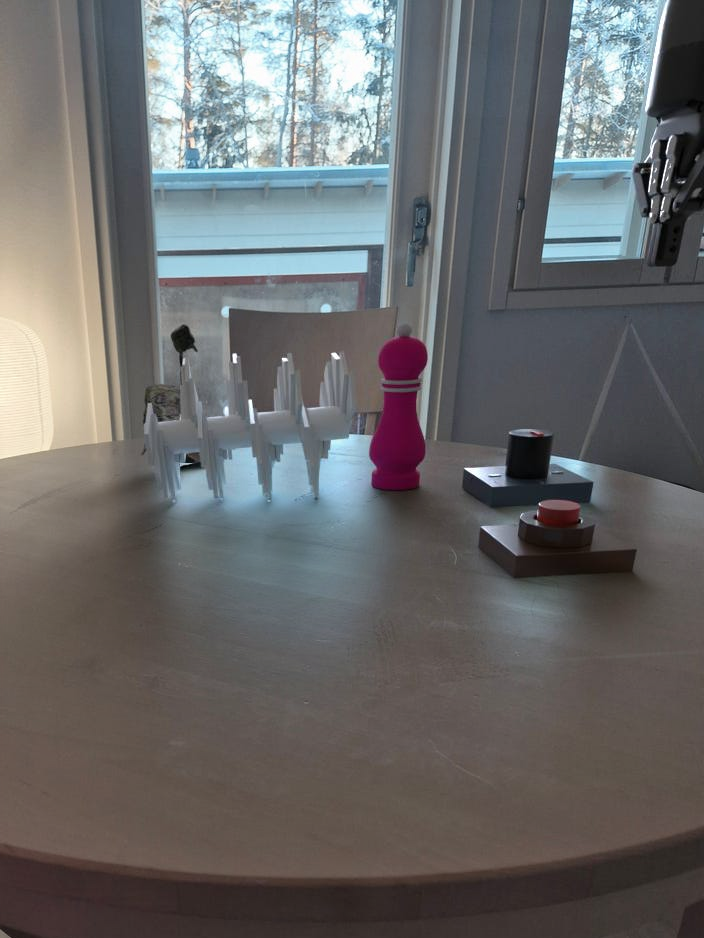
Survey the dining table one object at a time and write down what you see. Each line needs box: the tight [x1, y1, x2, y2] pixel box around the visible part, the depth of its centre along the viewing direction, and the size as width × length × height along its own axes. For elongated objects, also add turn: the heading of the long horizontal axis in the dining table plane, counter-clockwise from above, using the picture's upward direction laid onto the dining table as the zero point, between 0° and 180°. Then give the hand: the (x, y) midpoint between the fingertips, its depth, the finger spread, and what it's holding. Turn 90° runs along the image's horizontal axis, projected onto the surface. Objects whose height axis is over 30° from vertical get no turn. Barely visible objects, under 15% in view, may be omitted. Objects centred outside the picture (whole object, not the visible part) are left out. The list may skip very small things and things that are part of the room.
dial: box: [504, 428, 555, 479], centre depth 90 cm, size 5×5×5 cm
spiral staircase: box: [143, 350, 358, 501], centre depth 92 cm, size 18×18×25 cm
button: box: [536, 500, 582, 526], centre depth 69 cm, size 4×4×2 cm
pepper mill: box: [368, 322, 429, 491], centre depth 95 cm, size 7×7×20 cm
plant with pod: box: [140, 323, 201, 464], centre depth 111 cm, size 8×11×20 cm
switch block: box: [477, 509, 638, 579], centre depth 70 cm, size 11×9×4 cm
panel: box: [461, 463, 594, 509], centre depth 92 cm, size 12×10×3 cm
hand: (660, 266), depth 72 cm, fingers closed
